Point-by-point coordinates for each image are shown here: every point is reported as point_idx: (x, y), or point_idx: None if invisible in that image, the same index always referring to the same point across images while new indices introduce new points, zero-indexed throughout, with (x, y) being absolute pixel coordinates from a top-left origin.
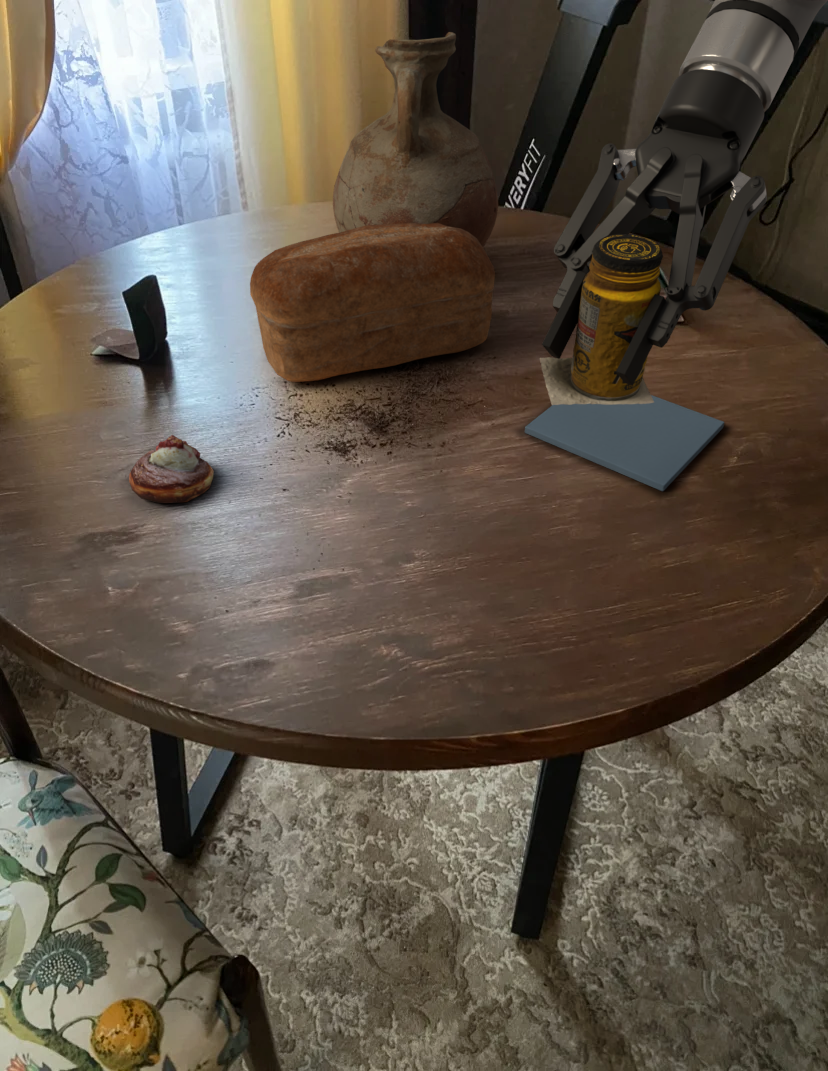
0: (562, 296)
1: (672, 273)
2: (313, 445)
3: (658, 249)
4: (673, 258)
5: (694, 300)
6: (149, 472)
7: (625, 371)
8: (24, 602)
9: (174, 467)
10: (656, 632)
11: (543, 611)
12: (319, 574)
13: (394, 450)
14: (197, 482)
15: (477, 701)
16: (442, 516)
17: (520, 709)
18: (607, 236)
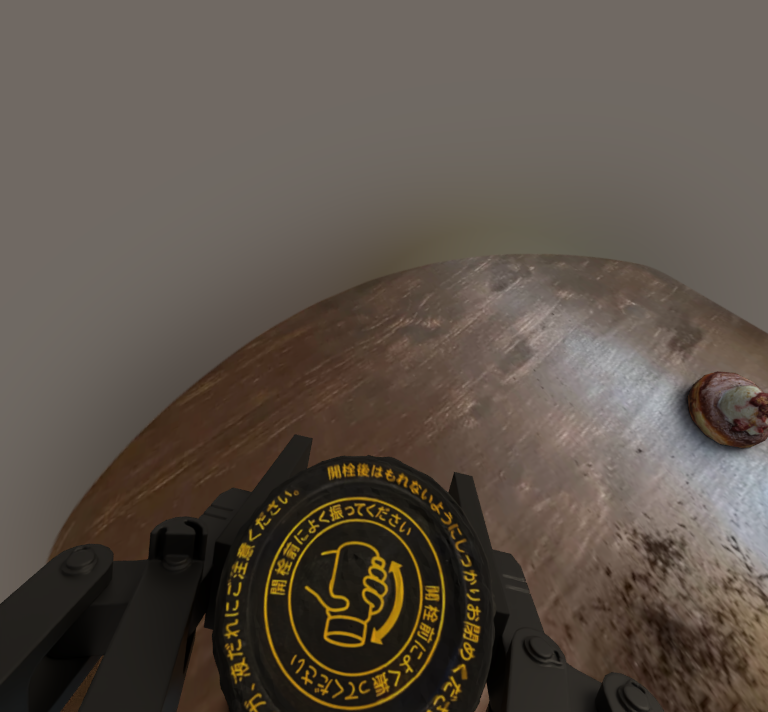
0: (504, 572)
1: (179, 612)
2: (687, 540)
3: (229, 623)
4: (166, 677)
5: (116, 563)
6: (737, 378)
7: (294, 437)
8: (661, 278)
9: (730, 392)
10: (237, 415)
11: (339, 400)
12: (526, 366)
13: (608, 581)
14: (700, 402)
15: (356, 308)
16: (483, 482)
17: (327, 312)
18: (475, 666)
